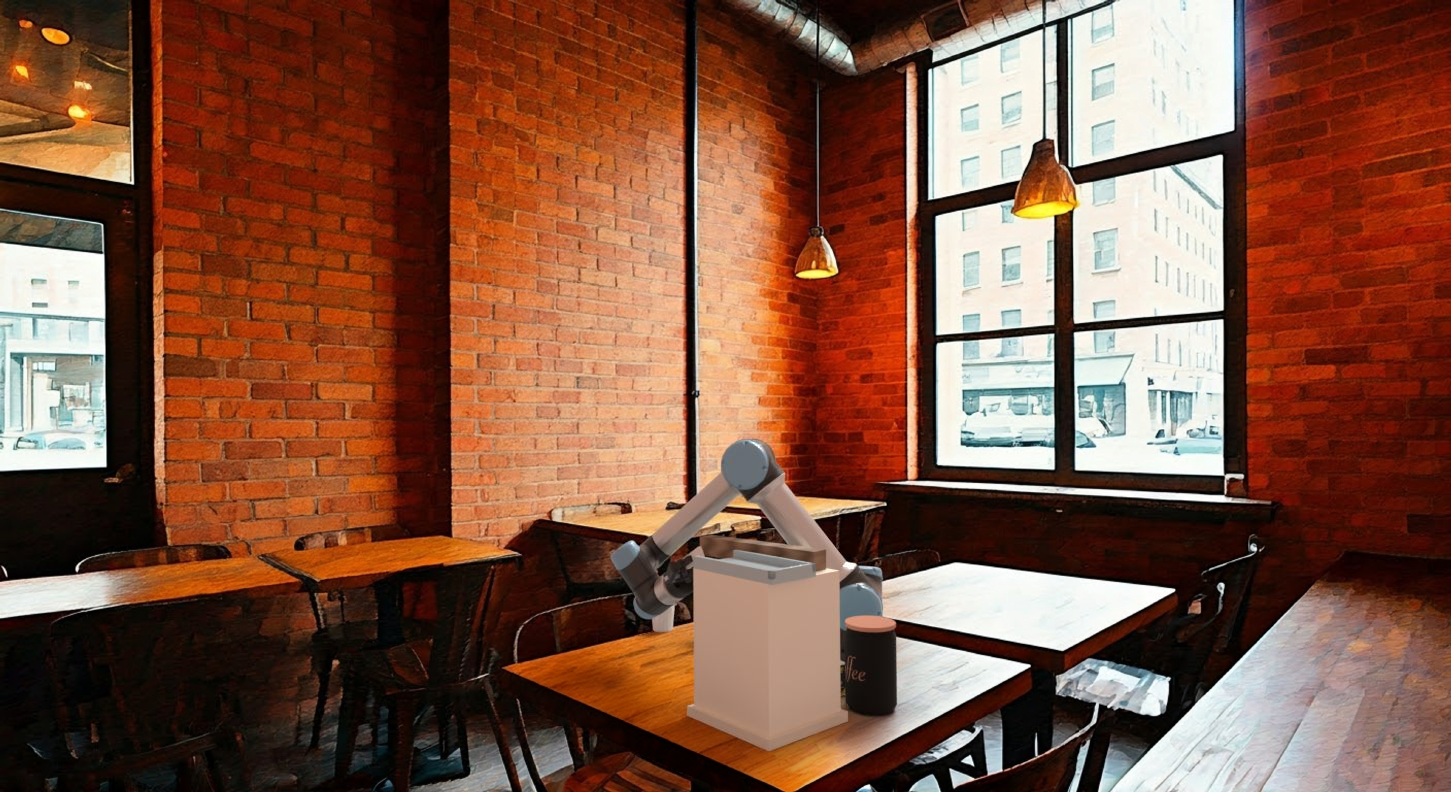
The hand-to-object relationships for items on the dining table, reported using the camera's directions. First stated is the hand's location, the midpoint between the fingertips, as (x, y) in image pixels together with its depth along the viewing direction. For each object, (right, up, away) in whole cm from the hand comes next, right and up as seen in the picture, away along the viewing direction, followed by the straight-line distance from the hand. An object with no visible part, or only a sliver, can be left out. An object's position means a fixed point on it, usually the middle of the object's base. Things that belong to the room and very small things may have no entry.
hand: (725, 548), depth 182 cm
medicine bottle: (+22, -31, -4) cm, 39 cm away
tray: (+5, -1, -20) cm, 21 cm away
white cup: (-18, -33, +51) cm, 64 cm away
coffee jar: (+31, -31, -13) cm, 46 cm away
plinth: (+8, -31, -19) cm, 37 cm away
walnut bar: (+7, -1, -9) cm, 11 cm away
